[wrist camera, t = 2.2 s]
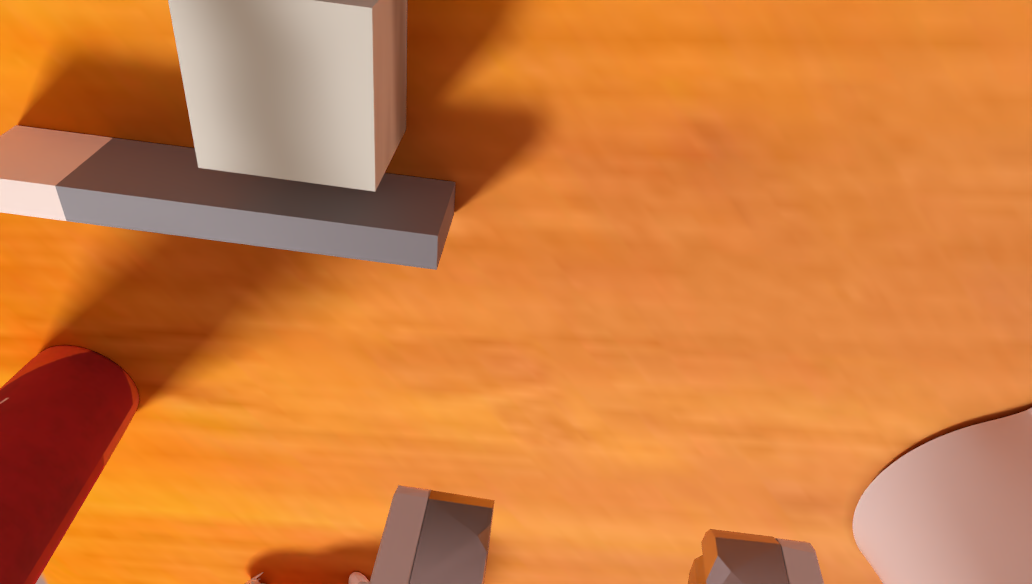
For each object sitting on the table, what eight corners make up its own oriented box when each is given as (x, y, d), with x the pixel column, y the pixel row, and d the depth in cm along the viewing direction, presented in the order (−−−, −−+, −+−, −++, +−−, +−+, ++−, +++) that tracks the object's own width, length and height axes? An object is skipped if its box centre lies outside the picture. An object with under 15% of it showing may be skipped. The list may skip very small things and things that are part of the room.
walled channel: (471, -148, 23) (450, -128, 20) (453, 213, 31) (436, 269, 28) (-101, -217, 23) (-213, -208, 20) (27, 158, 31) (-39, 207, 28)
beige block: (408, -36, 25) (372, 7, 21) (406, 128, 29) (375, 191, 25) (233, -59, 25) (164, -20, 21) (254, 107, 29) (198, 167, 25)
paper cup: (-6, 316, 37) (-270, 569, 26) (148, 343, 37) (-49, 606, 26) (33, 422, 42) (-176, 675, 30) (169, 446, 42) (11, 706, 31)
